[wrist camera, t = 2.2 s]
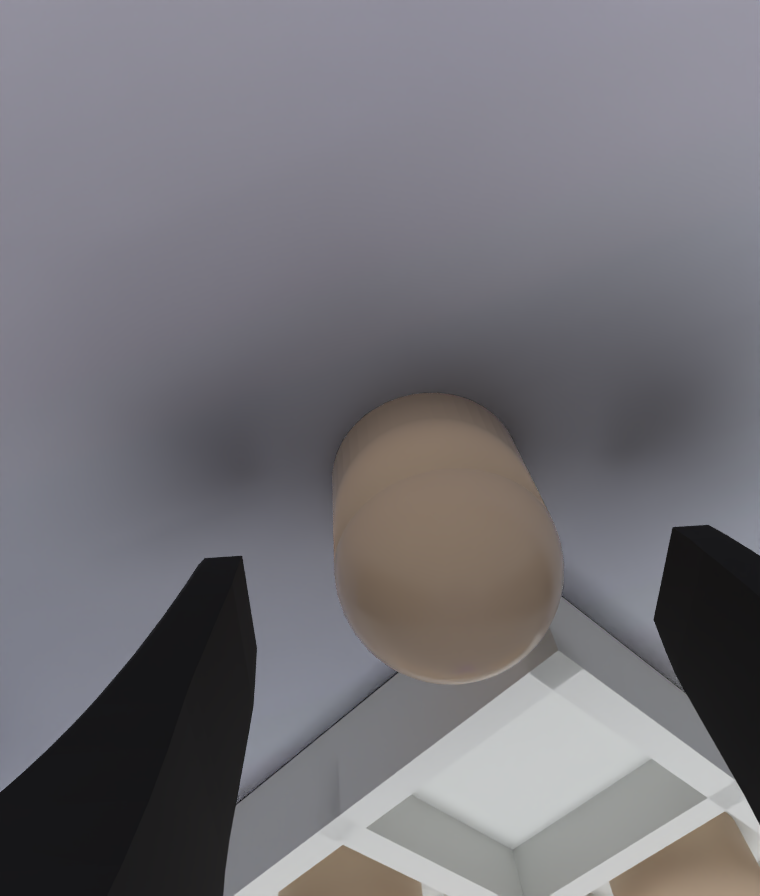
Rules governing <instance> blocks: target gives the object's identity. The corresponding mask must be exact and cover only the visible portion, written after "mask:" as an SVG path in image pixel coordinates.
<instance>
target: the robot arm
mask: <svg viewBox="0 0 760 896" xmlns="http://www.w3.org/2000/svg"><path fill="white" fill-rule="evenodd" d="M654 622H655V625H656V627H657V630H658V632H659V635H660V638H661V640H662V643H663V645H664V648H665V651H666V653H667V655H668V658H669V660H670V662H671V665H672V667H673V669H674V672H675V674H676V676H677V678H678V680H679V681H680V683H681V685H682V687H683V689H684V691H685V692H686V694H687V696H688V698H689V699H690V701H691V703H692V705H693V707H694V708H695V710H696V712H697V714H698V716H699V717H700V719H701V721H702V723H703V724H704V726H705V728H706V729H707V731H708V733H709V735H710V736H711V738H712V740H713V742H714V743H715V745H716V747H717V749H718V750H719V752H720V754H721V756H722V757H723V759H724V761H725V763H726V764H727V766H728V768H729V770H730V771H731V773H732V775H733V777H734V778H735V780H736V782H737V784H738V785H739V787H740V789H741V791H742V792H743V794H744V796H745V798H746V800H747V802H748V803H749V805H750V807H751V809H752V811H753V813H754V815H755V817H756V819H757V821H758V823H759V825H760V556H759V555H758V554H756V553H755V552H753V551H751V550H750V549H748V548H747V547H745V546H743V545H742V544H740V543H739V542H737V541H735V540H734V539H732V538H730V537H729V536H727V535H725V534H724V533H722V532H720V531H718V530H717V529H715V528H713V527H711V526H709V525H699V526H684V527H673V528H672V533H671V538H670V543H669V548H668V552H667V557H666V562H665V567H664V572H663V577H662V581H661V586H660V591H659V596H658V601H657V606H656V610H655V615H654ZM256 654H257V646H256V640H255V634H254V627H253V621H252V615H251V609H250V602H249V596H248V590H247V584H246V577H245V571H244V565H243V559H242V556H232V557H217V558H205V559H204V560H203V561H202V562H201V563H200V564H199V565H198V566H197V568H196V569H195V571H194V572H193V574H192V575H191V577H190V578H189V580H188V581H187V583H186V584H185V586H184V587H183V589H182V590H181V592H180V593H179V595H178V596H177V598H176V599H175V600H174V602H173V603H172V605H171V606H170V607H169V609H168V610H167V612H166V613H165V614H164V616H163V617H162V619H161V620H160V621H159V622H158V624H157V625H156V626H155V628H154V629H153V630H152V632H151V633H150V634H149V636H148V637H147V638H146V640H145V641H144V642H143V644H142V645H141V646H140V648H139V649H138V650H137V651H136V653H135V654H134V655H133V656H132V658H131V659H130V660H129V661H128V662H127V664H126V665H125V666H124V667H123V668H122V670H121V671H120V672H119V673H118V674H117V675H116V677H115V678H114V679H113V680H112V681H111V683H110V684H109V685H108V686H107V687H106V688H105V690H104V691H103V692H102V693H101V694H100V695H99V697H98V698H97V699H96V700H95V701H94V702H93V703H92V704H91V705H90V706H89V708H88V709H87V710H86V711H85V712H84V713H83V714H82V715H81V716H80V717H79V718H78V719H77V720H76V721H75V723H74V724H73V725H72V726H71V727H70V728H69V729H68V730H67V731H66V732H65V733H64V734H63V735H62V736H61V737H60V738H59V739H58V740H57V741H56V742H55V743H54V744H53V745H52V746H51V747H50V748H49V749H48V750H47V751H46V752H45V753H44V754H42V755H41V756H40V757H39V758H38V759H37V760H36V761H35V762H34V763H33V764H32V765H31V766H29V767H28V768H27V769H26V770H25V771H24V772H23V773H22V774H21V775H20V776H18V777H17V778H16V779H15V780H14V781H13V782H12V783H11V784H9V785H8V786H7V787H6V788H5V789H4V790H3V791H1V792H0V896H223V893H224V881H225V870H226V862H227V855H228V848H229V841H230V835H231V829H232V824H233V818H234V812H235V807H236V801H237V796H238V790H239V785H240V779H241V774H242V768H243V762H244V757H245V751H246V746H247V740H248V734H249V728H250V723H251V717H252V711H253V704H254V689H255V673H256Z"/></svg>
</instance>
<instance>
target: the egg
mask: <svg viewBox="0 0 760 896" xmlns="http://www.w3.org/2000/svg"><path fill="white" fill-rule="evenodd" d="M332 497H333V539H334V575H335V583H336V589H337V595H338V598H339V601H340V604H341V607H342V610H343V613H344V615H345V617H346V619H347V621H348V623H349V625H350V626H351V628H352V630H353V631H354V633H355V635H356V636H357V637H358V638H359V640H360V641H361V642H362V644H363V645H364V646H365V647H366V648H367V649H368V650H369V651H370V652H371V653H372V654H373V655H374V656H375V657H376V658H378V659H379V660H380V661H382V662H383V663H385V664H386V665H388V666H389V667H390V668H392V669H394V670H396V671H397V672H399V673H401V674H404V675H406V676H409V677H411V678H414V679H417V680H420V681H424V682H428V683H434V684H443V685H459V684H467V683H473V682H477V681H482V680H485V679H488V678H491V677H493V676H496V675H498V674H500V673H502V672H504V671H506V670H508V669H510V668H511V667H513V666H514V665H516V664H517V663H519V662H520V661H521V660H522V659H523V658H525V657H526V656H527V655H528V654H529V653H530V652H531V651H532V650H533V649H534V648H535V646H536V645H537V644H538V643H539V642H540V641H541V639H542V638H543V637H544V635H545V634H546V632H547V630H548V628H549V626H550V625H551V623H552V621H553V619H554V617H555V614H556V612H557V609H558V606H559V603H560V599H561V594H562V589H563V579H564V561H563V553H562V547H561V542H560V539H559V535H558V532H557V530H556V527H555V524H554V522H553V520H552V518H551V516H550V514H549V512H548V510H547V508H546V506H545V504H544V502H543V500H542V498H541V496H540V494H539V492H538V490H537V488H536V486H535V484H534V482H533V480H532V478H531V476H530V474H529V472H528V470H527V468H526V466H525V464H524V462H523V460H522V458H521V456H520V454H519V452H518V450H517V448H516V446H515V444H514V442H513V440H512V438H511V436H510V434H509V432H508V430H507V429H506V428H505V426H504V425H503V423H502V422H501V421H500V420H499V419H498V418H497V417H496V416H495V415H494V414H493V413H491V412H490V411H489V410H487V409H486V408H485V407H483V406H481V405H479V404H477V403H476V402H474V401H471V400H469V399H466V398H464V397H460V396H456V395H452V394H444V393H419V394H412V395H408V396H404V397H400V398H397V399H394V400H392V401H389V402H387V403H385V404H383V405H381V406H379V407H377V408H375V409H374V410H372V411H371V412H369V413H368V414H366V415H365V416H364V417H363V418H362V419H361V420H359V421H358V422H357V423H356V424H355V425H354V427H353V428H352V429H351V430H350V431H349V432H348V434H347V435H346V437H345V438H344V440H343V441H342V443H341V445H340V447H339V449H338V452H337V454H336V457H335V461H334V465H333V472H332Z"/></svg>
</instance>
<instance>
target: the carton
mask: <svg viewBox="0 0 760 896" xmlns="http://www.w3.org/2000/svg"><path fill="white" fill-rule="evenodd" d="M223 896H760V825H759V823H758V821H757V819H756V817H755V815H754V813H753V811H752V809H751V807H750V805H749V803H748V802H747V800H746V798H745V796H744V794H743V792H742V791H741V789H740V787H739V785H738V784H737V782H736V780H735V778H734V777H733V775H732V773H731V771H730V770H729V768H728V766H727V764H726V763H725V761H724V759H723V757H722V756H721V754H720V752H719V750H718V749H717V747H716V745H715V743H714V742H713V740H712V738H711V736H710V735H709V733H708V731H707V729H706V728H705V726H704V724H703V723H702V721H701V719H700V717H699V716H698V714H697V712H696V710H695V708H694V707H693V705H692V703H691V701H690V699H689V698H688V696H687V694H686V693H684V692H683V691H682V690H681V689H679V688H678V687H677V686H675V685H674V684H673V683H672V682H670V681H669V680H668V679H666V678H665V677H664V676H663V675H661V674H660V673H659V672H658V671H656V670H655V669H654V668H652V667H651V666H650V665H649V664H647V663H646V662H645V661H643V660H642V659H641V658H640V657H638V656H637V655H636V654H635V653H633V652H632V651H631V650H629V649H628V648H627V647H626V646H624V645H623V644H622V643H620V642H619V641H618V640H617V639H615V638H614V637H613V636H611V635H610V634H609V633H608V632H606V631H605V630H604V629H603V628H601V627H600V626H599V625H597V624H596V623H595V622H594V621H592V620H591V619H590V618H588V617H587V616H586V615H585V614H583V613H582V612H581V611H580V610H578V609H577V608H576V607H574V606H573V605H572V604H571V603H569V602H568V601H567V600H565V599H564V598H563V597H562V596H561V599H560V603H559V606H558V609H557V612H556V614H555V617H554V619H553V621H552V623H551V625H550V626H549V628H548V630H547V632H546V634H545V635H544V637H543V638H542V639H541V641H540V642H539V643H538V644H537V645H536V646H535V648H534V649H533V650H532V651H531V652H530V653H529V654H528V655H527V656H526V657H525V658H523V659H522V660H521V661H520V662H519V663H517V664H516V665H514V666H513V667H511V668H510V669H508V670H506V671H504V672H502V673H500V674H498V675H496V676H493V677H491V678H488V679H485V680H482V681H477V682H473V683H467V684H459V685H443V684H434V683H428V682H424V681H420V680H417V679H414V678H411V677H409V676H406V675H404V674H401V673H397V674H396V675H395V676H394V677H392V678H391V679H390V680H389V681H388V682H386V683H385V684H384V685H383V686H381V687H380V688H379V689H378V690H377V691H375V692H374V693H373V694H372V695H370V696H369V697H368V698H367V699H366V700H364V701H363V702H362V703H361V704H359V705H358V706H357V707H356V708H355V709H353V710H352V711H351V712H350V713H348V714H347V715H346V716H345V717H344V718H342V719H341V720H340V721H339V722H337V723H336V724H335V725H334V726H333V727H331V728H330V729H329V730H328V731H326V732H325V733H324V734H323V735H322V736H320V737H319V738H318V739H317V740H315V741H314V742H313V743H312V744H311V745H309V746H308V747H307V748H306V749H304V750H303V751H302V752H301V753H300V754H298V755H297V756H296V757H295V758H293V759H292V760H291V761H290V762H289V763H287V764H286V765H285V766H284V767H282V768H281V769H280V770H279V771H278V772H276V773H275V774H274V775H273V776H271V777H270V778H269V779H268V780H267V781H265V782H264V783H263V784H262V785H260V786H259V787H258V788H257V789H256V790H254V791H253V792H252V793H251V794H249V795H248V796H247V797H246V798H244V799H243V800H242V801H241V802H240V803H238V804H237V805H236V807H235V812H234V818H233V824H232V829H231V835H230V841H229V848H228V855H227V862H226V870H225V881H224V893H223Z"/></svg>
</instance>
